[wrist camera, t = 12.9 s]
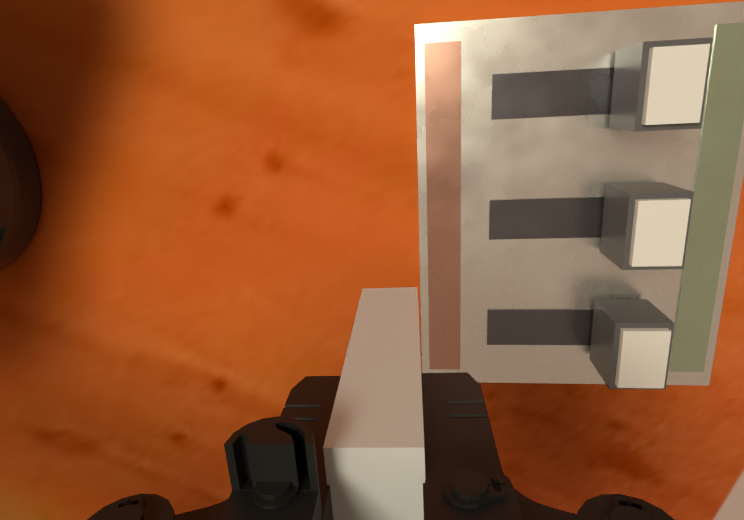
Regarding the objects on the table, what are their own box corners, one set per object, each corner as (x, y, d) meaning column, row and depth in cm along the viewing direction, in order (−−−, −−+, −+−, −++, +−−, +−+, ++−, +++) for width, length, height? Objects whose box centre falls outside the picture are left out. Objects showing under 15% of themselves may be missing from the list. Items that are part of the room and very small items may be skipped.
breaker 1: (608, 129, 27) (637, 131, 23) (615, 50, 26) (647, 40, 22) (667, 126, 27) (705, 129, 23) (676, 46, 26) (718, 35, 22)
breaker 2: (599, 251, 29) (625, 272, 25) (605, 183, 28) (632, 195, 24) (653, 251, 29) (687, 271, 25) (661, 182, 28) (698, 192, 24)
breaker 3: (589, 359, 31) (611, 392, 27) (594, 299, 30) (618, 326, 26) (639, 359, 31) (669, 393, 27) (646, 299, 30) (678, 326, 26)
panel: (422, 370, 35) (422, 382, 33) (415, 28, 28) (414, 24, 27) (696, 373, 33) (709, 386, 31) (753, 5, 26) (773, -1, 25)
